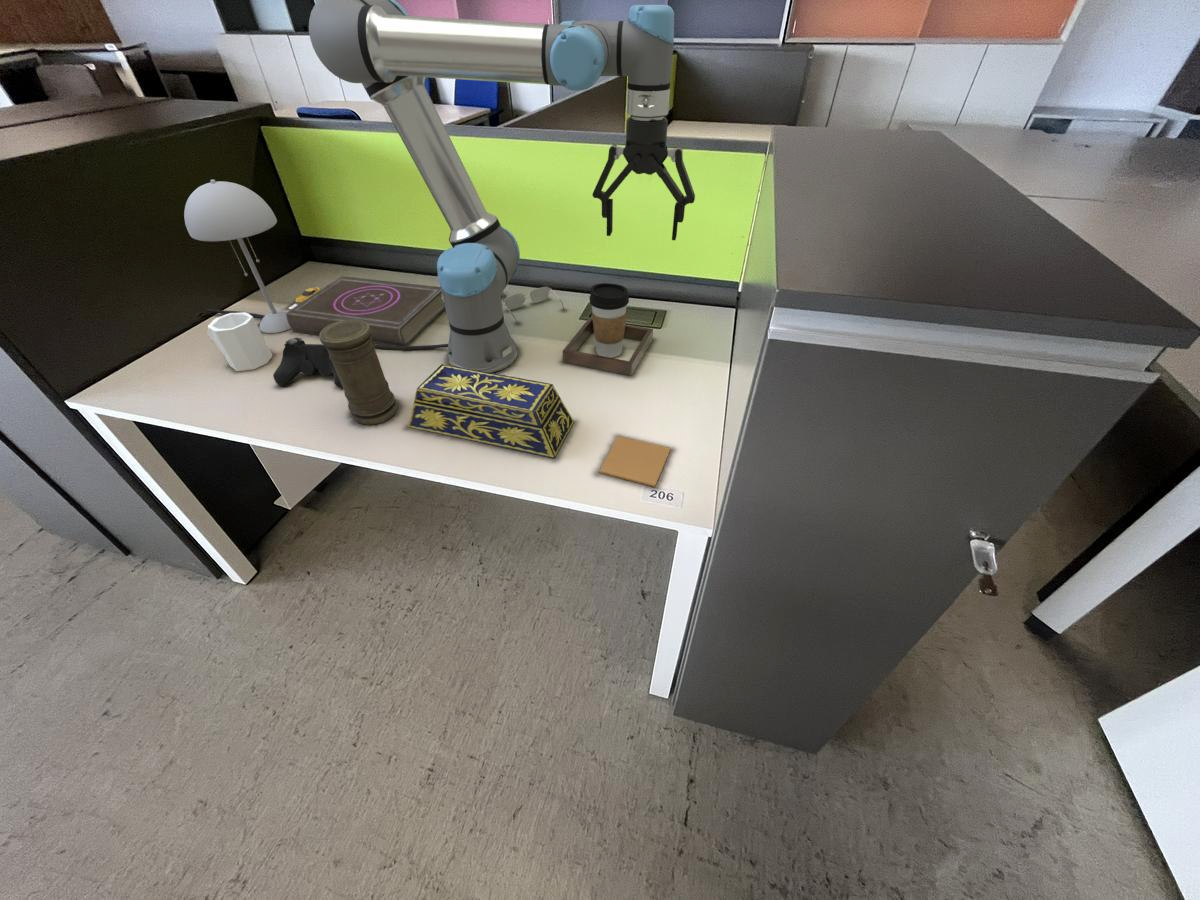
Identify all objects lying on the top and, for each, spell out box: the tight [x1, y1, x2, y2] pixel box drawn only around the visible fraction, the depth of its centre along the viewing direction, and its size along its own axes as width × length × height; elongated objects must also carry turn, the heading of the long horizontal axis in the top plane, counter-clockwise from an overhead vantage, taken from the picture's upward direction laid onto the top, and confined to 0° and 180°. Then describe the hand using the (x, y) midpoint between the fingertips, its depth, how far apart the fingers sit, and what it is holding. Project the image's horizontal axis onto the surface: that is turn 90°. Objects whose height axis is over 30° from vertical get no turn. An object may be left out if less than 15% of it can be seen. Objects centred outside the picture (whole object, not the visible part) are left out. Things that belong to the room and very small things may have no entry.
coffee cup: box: [588, 282, 630, 358], centre depth 114 cm, size 8×8×15 cm
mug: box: [206, 311, 273, 372], centre depth 114 cm, size 12×9×10 cm
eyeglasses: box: [501, 286, 565, 325], centre depth 133 cm, size 14×8×4 cm, turn 122°
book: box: [286, 275, 446, 346], centre depth 130 cm, size 30×22×5 cm
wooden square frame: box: [562, 317, 654, 377], centre depth 118 cm, size 16×16×3 cm
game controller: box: [272, 336, 343, 389], centre depth 110 cm, size 16×7×10 cm, turn 86°
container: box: [319, 320, 399, 426], centre depth 97 cm, size 9×9×18 cm
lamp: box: [183, 179, 292, 334], centre depth 119 cm, size 17×17×33 cm
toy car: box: [287, 286, 322, 310], centre depth 138 cm, size 4×8×2 cm, turn 164°
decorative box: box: [408, 363, 575, 459], centre depth 97 cm, size 11×30×9 cm, turn 72°
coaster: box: [598, 435, 671, 488], centre depth 92 cm, size 10×10×1 cm
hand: (641, 236), depth 108 cm, fingers open, 13 cm apart
